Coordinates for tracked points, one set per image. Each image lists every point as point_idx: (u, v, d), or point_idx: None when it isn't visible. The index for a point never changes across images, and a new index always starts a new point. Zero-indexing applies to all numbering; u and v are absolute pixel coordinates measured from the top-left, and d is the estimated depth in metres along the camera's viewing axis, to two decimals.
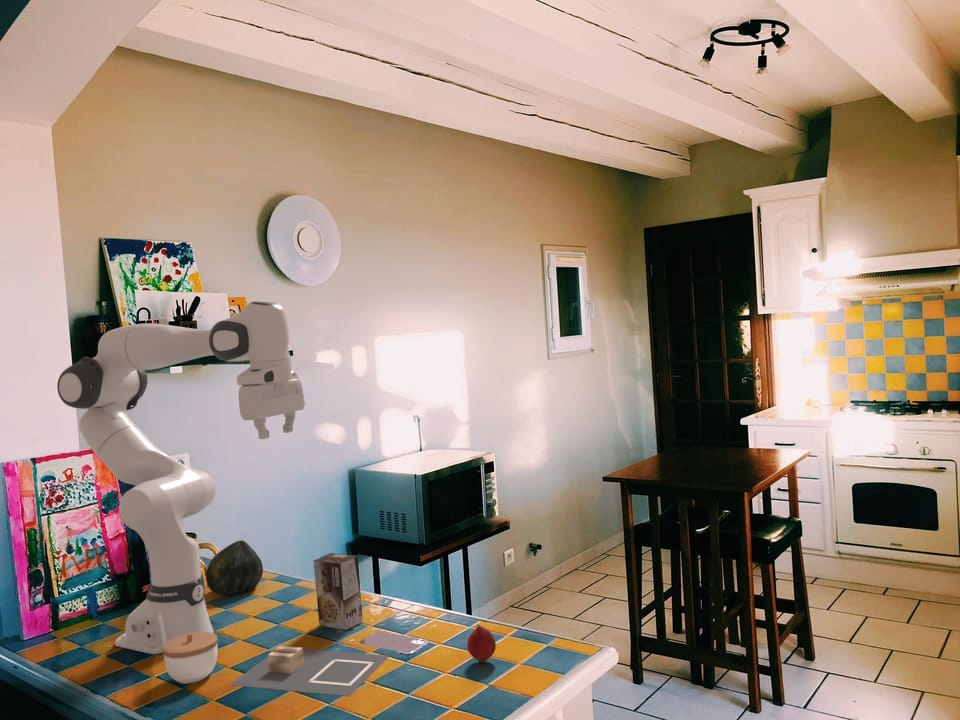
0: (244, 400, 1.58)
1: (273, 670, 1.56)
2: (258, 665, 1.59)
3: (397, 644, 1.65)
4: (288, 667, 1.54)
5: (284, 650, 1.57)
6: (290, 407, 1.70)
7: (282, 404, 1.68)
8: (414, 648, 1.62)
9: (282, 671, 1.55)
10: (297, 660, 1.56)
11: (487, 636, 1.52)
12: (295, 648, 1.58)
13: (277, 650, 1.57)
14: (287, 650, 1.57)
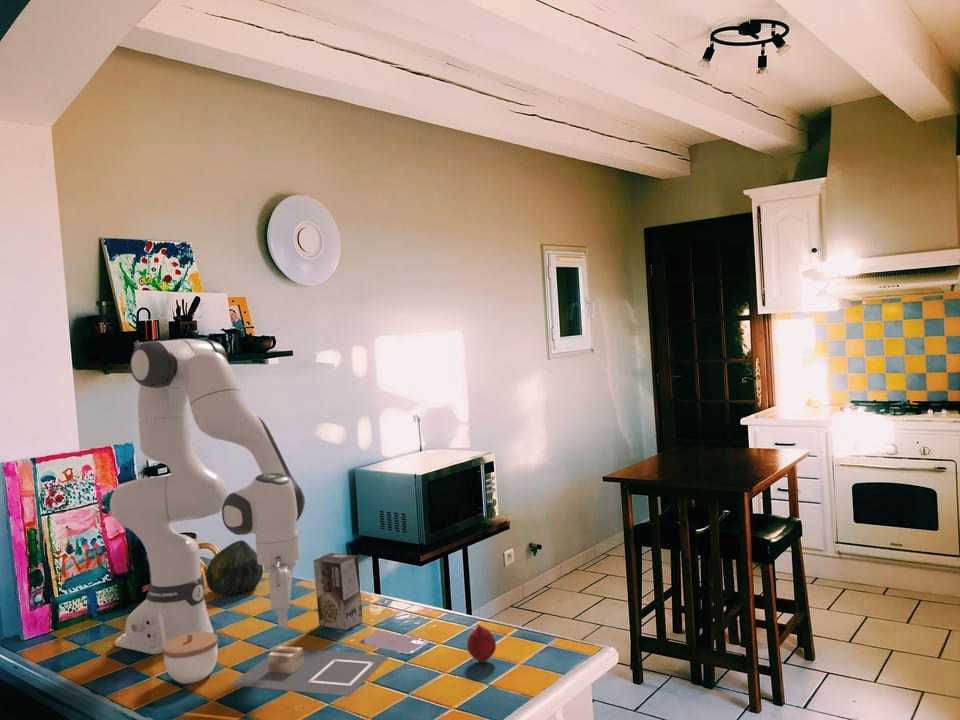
0: None
1: (273, 670, 1.56)
2: (258, 665, 1.59)
3: (397, 644, 1.65)
4: (288, 667, 1.54)
5: (284, 650, 1.57)
6: None
7: None
8: (414, 648, 1.62)
9: (282, 671, 1.55)
10: (297, 660, 1.56)
11: (487, 636, 1.52)
12: (295, 648, 1.58)
13: (277, 650, 1.57)
14: (287, 650, 1.57)
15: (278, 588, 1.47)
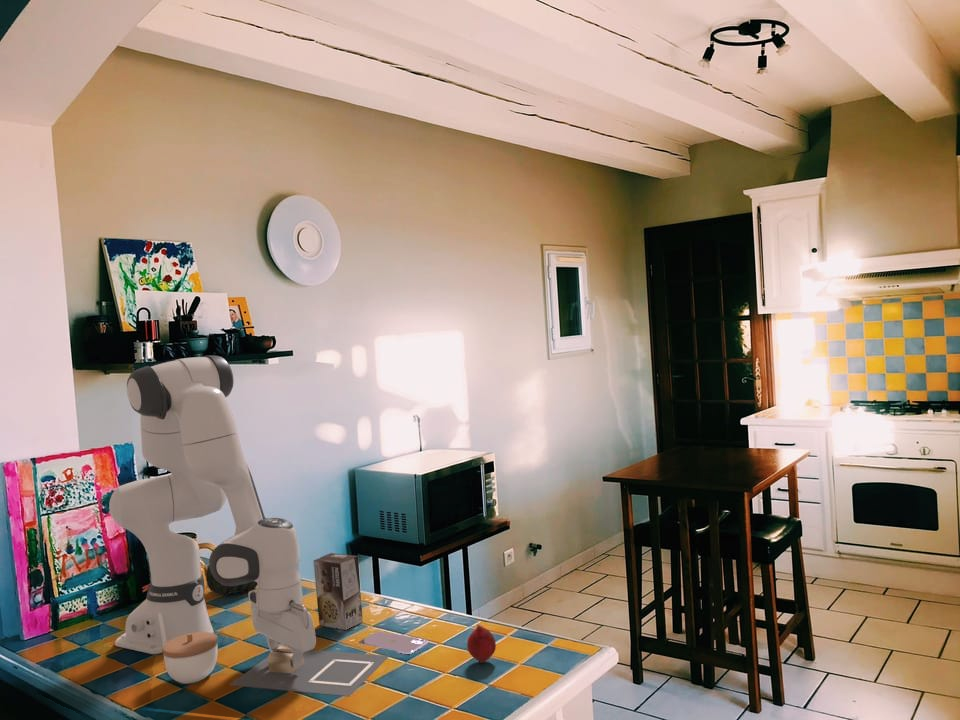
0: None
1: (273, 670, 1.56)
2: (258, 665, 1.59)
3: (397, 644, 1.65)
4: (288, 667, 1.54)
5: (284, 650, 1.57)
6: (284, 641, 1.53)
7: (277, 633, 1.55)
8: (413, 648, 1.62)
9: (282, 671, 1.55)
10: None
11: (487, 635, 1.52)
12: None
13: (277, 650, 1.57)
14: (287, 650, 1.57)
15: (306, 630, 1.50)
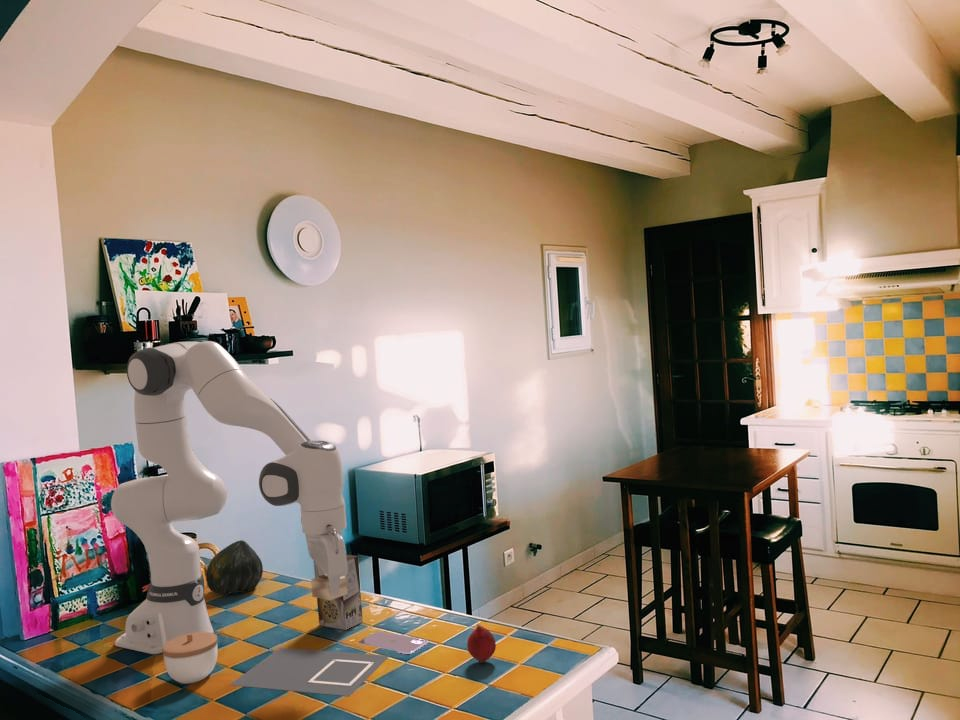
0: None
1: (315, 595, 1.52)
2: (258, 665, 1.59)
3: (397, 644, 1.65)
4: (326, 594, 1.49)
5: (327, 577, 1.52)
6: (322, 566, 1.48)
7: (318, 557, 1.51)
8: (413, 648, 1.62)
9: (322, 597, 1.50)
10: None
11: (487, 636, 1.52)
12: None
13: (322, 576, 1.53)
14: None
15: (336, 555, 1.43)
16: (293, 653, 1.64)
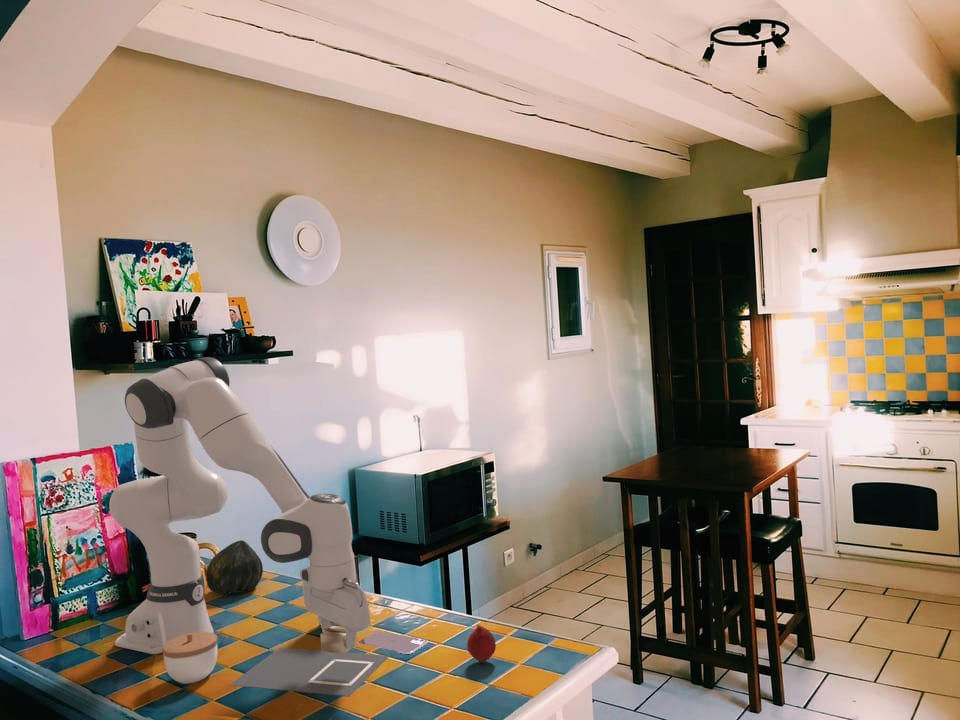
0: None
1: (326, 650, 1.51)
2: (258, 665, 1.59)
3: (396, 644, 1.65)
4: (341, 647, 1.50)
5: (337, 630, 1.52)
6: (338, 620, 1.48)
7: (330, 611, 1.51)
8: (413, 648, 1.62)
9: (335, 651, 1.50)
10: None
11: (487, 636, 1.52)
12: None
13: (329, 630, 1.53)
14: (340, 630, 1.52)
15: (360, 608, 1.45)
16: (293, 653, 1.64)
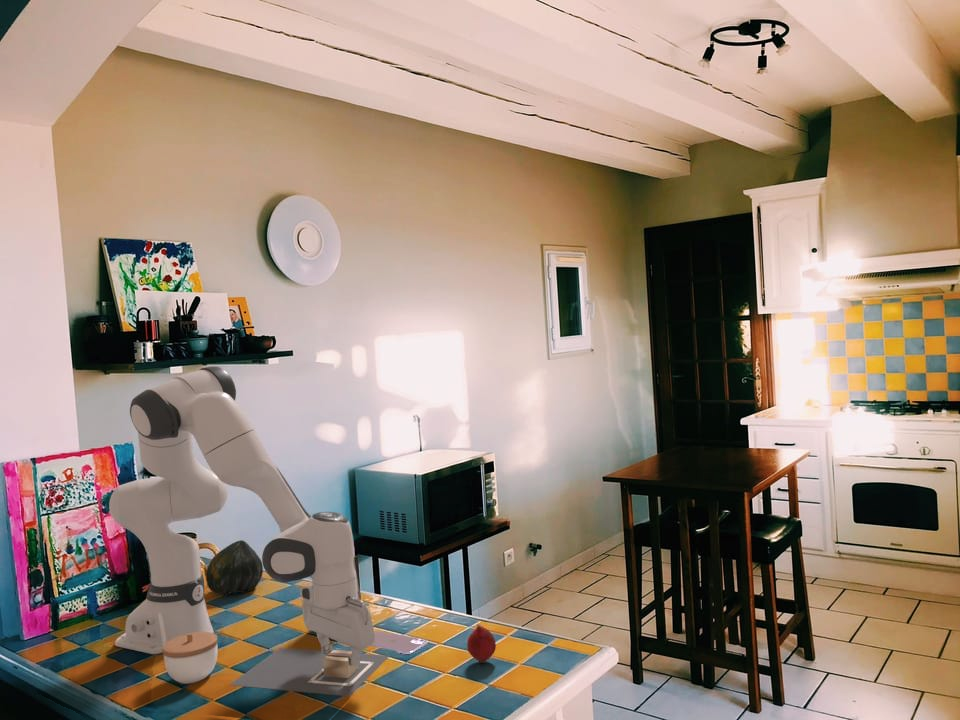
0: None
1: (328, 675, 1.51)
2: (258, 665, 1.59)
3: (396, 644, 1.65)
4: (344, 672, 1.50)
5: (339, 654, 1.53)
6: (341, 638, 1.49)
7: (332, 630, 1.51)
8: (413, 648, 1.62)
9: (338, 676, 1.51)
10: None
11: (487, 636, 1.52)
12: (350, 652, 1.54)
13: (332, 654, 1.53)
14: (342, 654, 1.53)
15: (366, 626, 1.46)
16: (293, 653, 1.64)
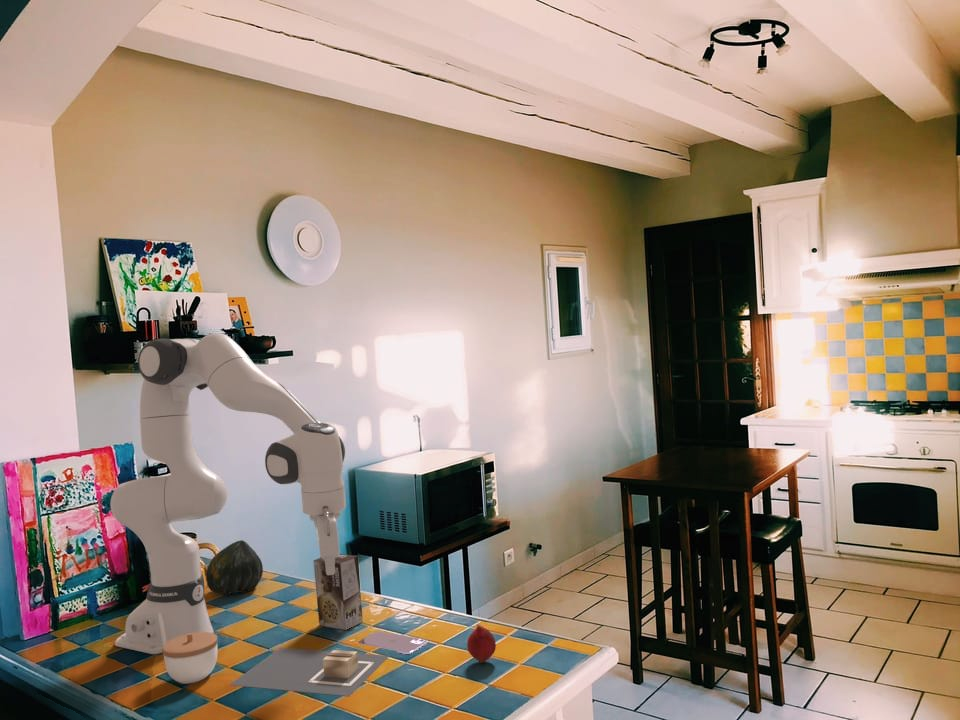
0: None
1: (328, 675, 1.51)
2: (258, 665, 1.59)
3: (396, 644, 1.65)
4: (344, 672, 1.50)
5: (339, 654, 1.53)
6: None
7: None
8: (413, 648, 1.62)
9: (338, 676, 1.51)
10: (353, 664, 1.52)
11: (487, 636, 1.52)
12: (350, 652, 1.54)
13: (332, 654, 1.53)
14: (342, 654, 1.53)
15: (328, 537, 1.47)
16: (293, 653, 1.64)
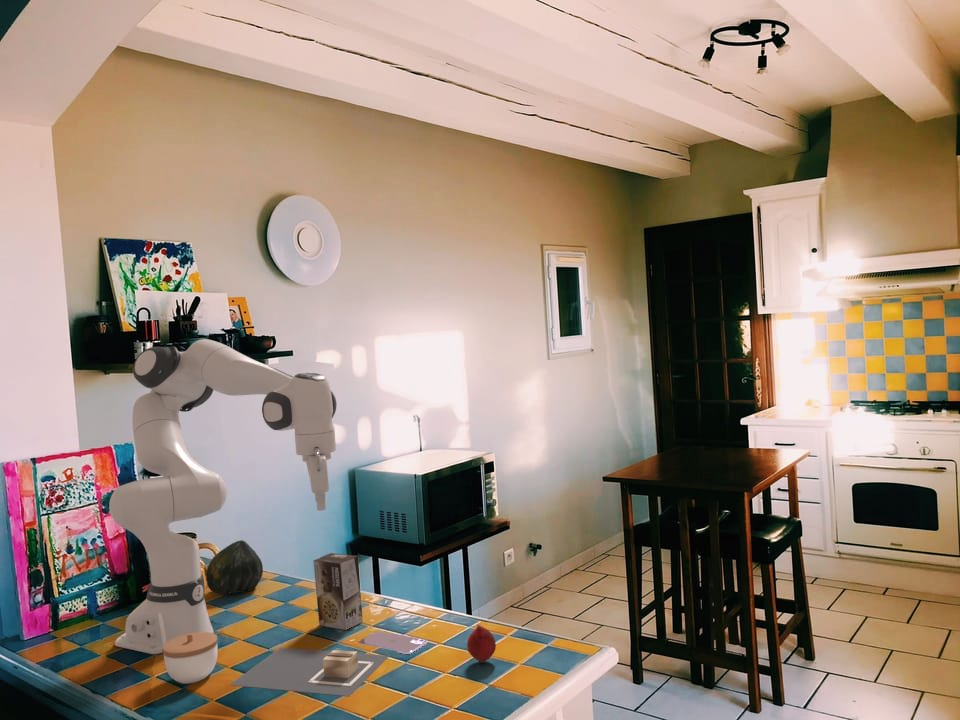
0: None
1: (328, 675, 1.51)
2: (258, 665, 1.59)
3: (396, 644, 1.65)
4: (344, 672, 1.50)
5: (339, 654, 1.53)
6: None
7: None
8: (413, 648, 1.62)
9: (338, 676, 1.51)
10: (353, 664, 1.52)
11: (487, 636, 1.52)
12: (350, 652, 1.54)
13: (332, 654, 1.53)
14: (342, 654, 1.53)
15: (318, 473, 1.60)
16: (293, 653, 1.64)
